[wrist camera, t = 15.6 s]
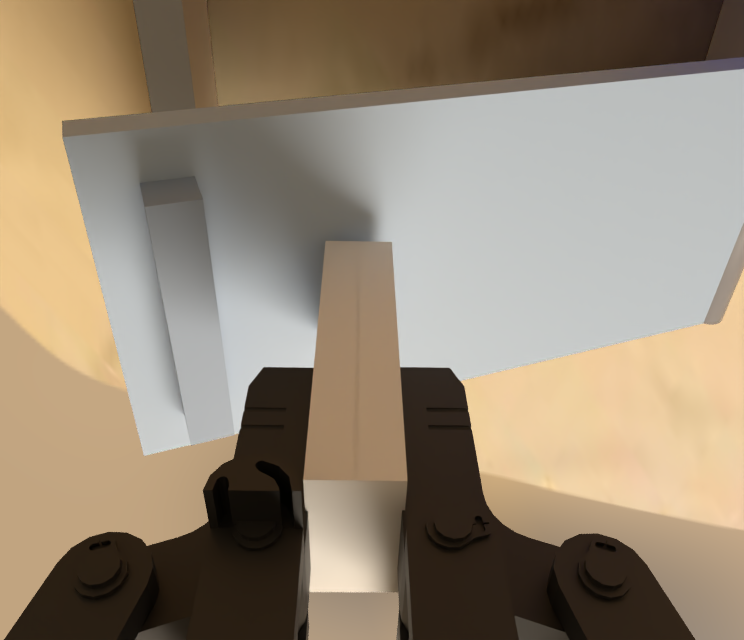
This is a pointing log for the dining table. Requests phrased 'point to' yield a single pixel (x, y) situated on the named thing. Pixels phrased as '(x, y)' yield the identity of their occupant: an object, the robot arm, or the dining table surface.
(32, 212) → the dining table surface
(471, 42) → the dining table surface
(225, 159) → the cover
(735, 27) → the gray u-shaped frame
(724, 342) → the dining table surface
